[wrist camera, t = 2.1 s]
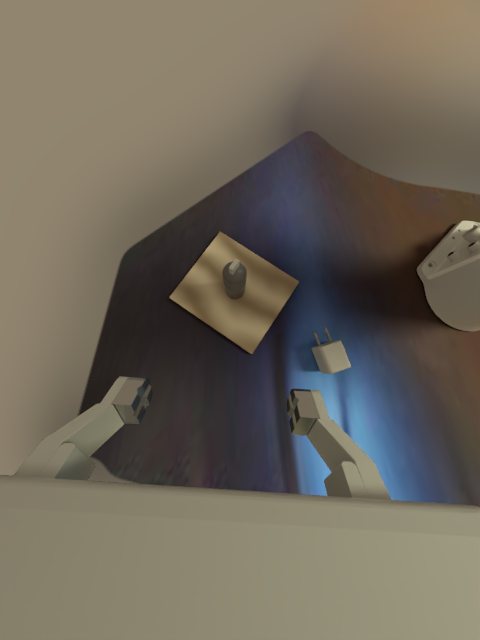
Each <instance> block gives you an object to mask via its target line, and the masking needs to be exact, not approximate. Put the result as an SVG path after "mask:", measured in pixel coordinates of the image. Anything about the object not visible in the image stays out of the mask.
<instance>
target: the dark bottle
mask: <svg viewBox="0 0 480 640" xmlns="http://www.w3.org/2000/svg"><path fill="white" fill-rule="evenodd" d="M222 277H223V282H224V287H225V292H226V294H227V296H228V297H230V298H232V299H239V298H241V297H242V296H243V294H244V292H245V285H246V277H247V271H246V268H245V267H244V265H243V264H241V263H240V260H238V259H236V258H235V260H234V261H232V262H229V263H227V264H226V265H225V266H224V268H223V271H222Z"/></svg>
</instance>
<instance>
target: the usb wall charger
mask: <svg viewBox="0 0 480 640" xmlns="http://www.w3.org/2000/svg"><path fill="white" fill-rule="evenodd" d="M324 330H325V332H326V335H327V338H328V340H329V342H327V343H324V344H320V341H319V339H318V336H317V334H316V332H313V333H314V336H315V338H316V341H317V344H318V346H315V347H312V351H313V354H314V356H315V359H316V362H317V364H318V367H319V370H320V372H323V373H327V374H332V373H335V372H338V371H341V370H344V369H347V368H350V367H351V365H350V362H349V360H348V357H347V355H346V352H345V350H344V347H343V345H342V342H341V340H338V341H332V340H331V337H330V335H329V332H328V330H327V328H324ZM326 330H327V331H326ZM315 334H316V335H315Z"/></svg>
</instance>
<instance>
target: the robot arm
mask: <svg viewBox="0 0 480 640" xmlns="http://www.w3.org/2000/svg"><path fill="white" fill-rule="evenodd" d="M417 273H418V275H419V277H420V279H421V280H422V282H423V284H424V288H425V294H426V298H427V301H428V303H429V305H430V307H431V308H432V310H433V311H434V313H435V314H436V315H437V316H438V317H439V318H440V319H441V320H442V321H443V322H445V323H446V324H448V325H450V326H451V327H454V328H456V329H459V330H463V331H478V330H480V223H477V222H473V221H462V222H459V223H457V224H456V225H455V226H454V227H453V228H452V229H451V230H450V231H449V233H448V234H447V235H446V236H445V237H444V238H443V239H442V240H441V241H440V243H439V244H438V245H437V246H436V247H435V248H434V249H433V250H432V251H431V253H430V254H429V255H428V256H427V257H426V258H425V259H424V260H423V261H422V263H421V264H420V265H419V266H418V267H417ZM149 383H150V381H149V379H146V378H133V377H121V376H120V377H119V378H118V379H117V380H116V381H115V383H114V384H113V386H112V387H111V388H110V390H109V391H108V393H107V394H106V396H105V397H104V399H103V400H102V401H101V403H100V404H96V405H94V406H93V407H91V408H90V409H88V410H87V411H85V412H84V413H82V414H81V415H79V416H78V417H76V418H75V419H73V420H72V421H70V422H69V423H67V424H66V425H64V426H63V427H62V428H60V429H58V430H57V431H55V432H54V433H52V434H51V435H50V436H48V437H46V438H45V439H43V440H42V441H41V443H40V444H39V445H38V446H37V447H36V449H35V450H34V451H33V452H32V453H31V455H30V456H29V457H28V459H27V460H26V461H25V462H24V463H23V464H22V466H21V467H20V468H19V469H18V471H17V472H16V473H15V474H14V475H13V476H8V475H0V640H480V507H477V506H473V505H461V504H445V503H430V502H414V501H398V500H391V498H390V496H389V493H388V491H387V489H386V487H385V485H384V483H383V480H382V478H381V476H380V474H379V472H378V470H377V467H376V465H375V463H374V462H373V461H372V460H371V459H370V458H369V457H368V456H367V455H366V454H365V453H364V451H363V450H362V449H361V448H360V447H359V446H358V445H357V444H356V443H355V442H354V441H353V440H352V439H351V438H350V437H349V436H348V435H347V434H346V433H345V432H344V431H343V430H342V429H341V428H340V427H339V426H338V425H337V424H336V423H335V421H334V420H330V417H329V415H328V412H327V409H326V407H325V404H324V401H323V398H322V396H321V393H320V391H318V390H307V389H291V391H290V394H291V396H289V397H288V400H287V411H288V414H289V415H290V417H291V419H290V421H289V422H290V428H291V433H292V434H296V435H307V437H308V439H309V440H310V442H311V443H312V444H313V446H314V447H315V449H316V450H317V452H318V453H319V455H320V456H321V457H322V459H323V460H324V462H325V463H326V465H327V466H328V467H329V469H330V470H331V472H332V473H331V474H330V475H329V476H328V477H327V478H326V479H325V480H324V483H325V487H326V491H327V495H328V496H320V495H305V494H289V493H273V492H258V491H242V490H227V489H211V488H195V487H180V486H164V485H149V484H133V483H117V482H102V481H88V479H89V477H90V476H91V474H92V472H93V470H94V468H95V463H94V462H93V461H92V460H91V459H90V458H89V457H90V456H91V455H92V454H93V453H94V452H95V451H96V450H97V449H98V448H99V447H100V446H101V445H102V444H104V443H105V442H106V441H107V440H108V439H109V438H110V437H111V436H112V435H113V434H114V433H115V432H116V431H117V430H118V429H120V428H121V427H122V426H123V425H124V423H134V424H140V423H141V421H142V418H143V416H144V414H145V412H146V411H145V407H146V406H147V405H148V404H149V403H150V401H151V398H152V394H153V392H152V387H151V386H149Z"/></svg>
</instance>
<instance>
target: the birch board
mask: <svg viewBox="0 0 480 640" xmlns="http://www.w3.org/2000/svg"><path fill="white" fill-rule="evenodd" d="M235 258H236V259H238V260H240V263H241V264H243V265H244V267H245V268H246V271H247V277H246V285H245V292H244V294H243V296H242V297H241V298H239V299H232V298H230V297H228V296H227V294H226V292H225V287H224V282H223V277H222V271H223V268H224V266H225V265H226V264H227V263H229V262H232V261H234V260H235ZM298 283H299V281H297V280H296V279H294V278H293V277H291V276H289V275H288V274H286V273H285V272H283V271H282V270H280V269H278V268H277V267H275V266H274V265H272V264H271V263H269V262H267V261H266V260H264V259H263V258H261V257H259V256H258V255H256V254H255V253H253V252H252V251H250V250H248V249H247V248H245V247H244V246H242V245H241V244H239V243H237V242H236V241H234V240H233V239H231V238H229V237H228V236H226V235H225V234H223V233H222V232H219V234H218V235H217V236H216V237H215V239H214V240H213V241H212V243H211V244H210V245H209V246H208V248H207V249H206V250H205V252H204V253H203V254H202V256H201V257H200V258H199V259H198V261H197V262H196V263H195V265H194V266H193V267H192V269H191V270H190V271H189V272H188V274H187V275H186V276H185V278H184V279H183V280H182V281H181V283H180V284H179V285H178V287H177V288H176V289H175V291H174V292H173V293H172V294H171V296H170V297H169V298H170V299H172V300H173V301H174V302H176V303H177V304H179V305H180V306H182V307H183V308H185V309H186V310H188V311H189V312H191V313H192V314H193V315H195V316H196V317H198V318H199V319H201V320H202V321H204V322H205V323H207V324H208V325H209V326H211V327H212V328H214V329H215V330H217V331H218V332H220V333H221V334H223V335H224V336H225V337H227V338H228V339H230V340H231V341H233V342H234V343H236V344H237V345H239V346H240V347H242V348H243V349H244V350H246V351H247V352H249V353H250V354H252V353H253V352H254V350H255V349H256V347H257V346H258V344H259V343H260V341H261V340H262V338H263V337H264V335H265V334H266V332H267V331H268V329H269V327H270V326H271V324H272V323H273V321H274V320H275V318H276V317H277V315H278V314H279V312H280V311H281V309H282V308H283V306H284V305H285V303H286V302H287V300H288V299H289V297H290V295H291V294H292V292H293V291H294V289H295V288H296V286H297V285H298Z"/></svg>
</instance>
